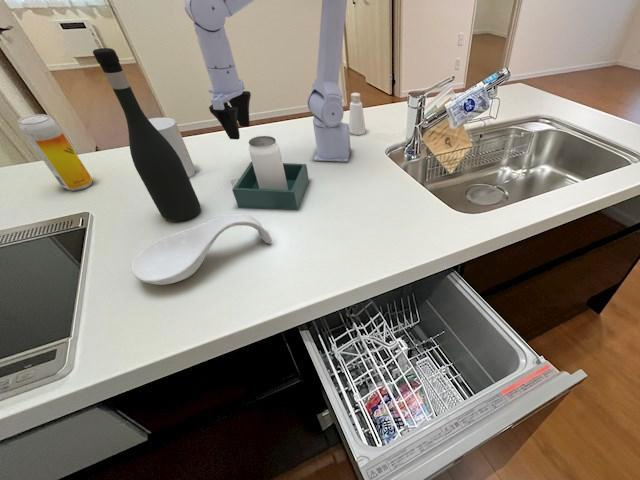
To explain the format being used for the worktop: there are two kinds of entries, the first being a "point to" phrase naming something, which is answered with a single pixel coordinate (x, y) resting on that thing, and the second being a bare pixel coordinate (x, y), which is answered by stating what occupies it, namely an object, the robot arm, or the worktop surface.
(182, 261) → the spoon rest
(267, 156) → the can
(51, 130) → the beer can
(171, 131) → the cup
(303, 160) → the worktop surface
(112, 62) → the wine bottle
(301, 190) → the box
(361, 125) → the pepper shaker
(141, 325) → the worktop surface
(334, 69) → the robot arm
